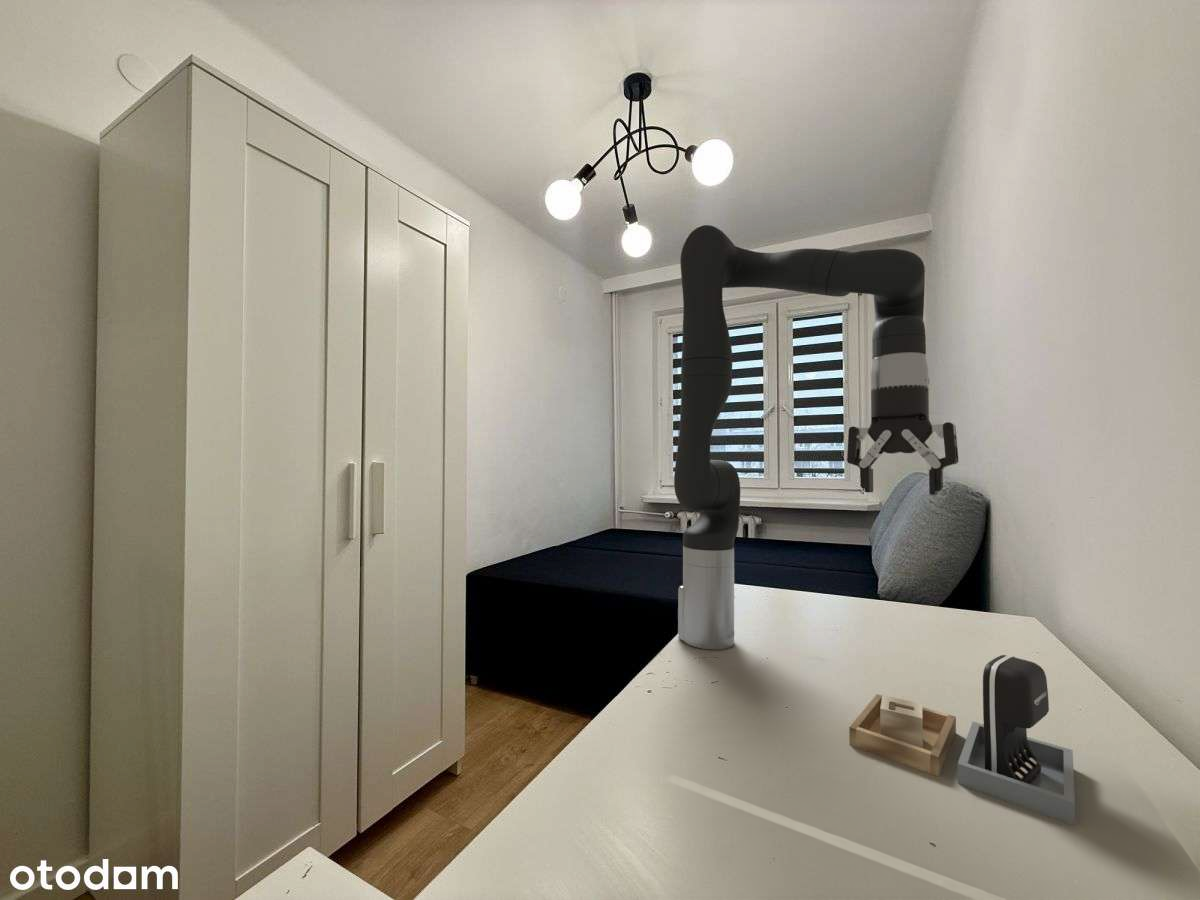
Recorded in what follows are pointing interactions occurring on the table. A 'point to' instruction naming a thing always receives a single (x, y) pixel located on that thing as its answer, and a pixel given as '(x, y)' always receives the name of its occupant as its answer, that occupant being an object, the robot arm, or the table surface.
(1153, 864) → the table surface
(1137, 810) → the table surface
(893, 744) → the oak tray
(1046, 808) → the slate tray
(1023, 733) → the black battery charger
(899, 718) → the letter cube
